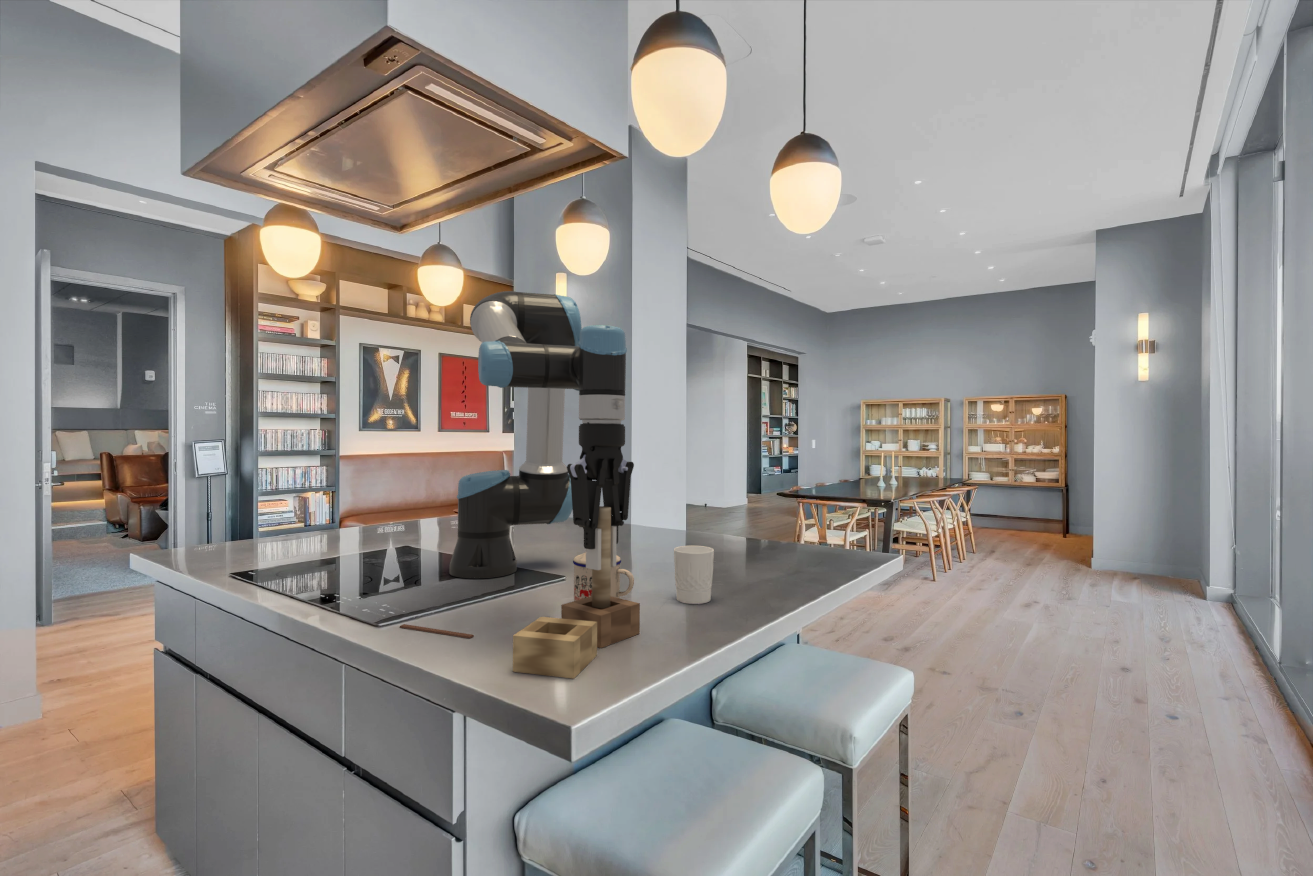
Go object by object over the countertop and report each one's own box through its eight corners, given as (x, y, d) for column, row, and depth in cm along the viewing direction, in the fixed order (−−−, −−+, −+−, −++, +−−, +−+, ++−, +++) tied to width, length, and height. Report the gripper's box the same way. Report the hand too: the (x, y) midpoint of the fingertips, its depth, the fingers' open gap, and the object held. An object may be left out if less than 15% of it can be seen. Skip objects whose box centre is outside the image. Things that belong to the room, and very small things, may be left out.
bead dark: (561, 635, 101) (561, 604, 101) (600, 622, 108) (600, 593, 108) (600, 648, 96) (601, 615, 96) (639, 633, 103) (639, 603, 102)
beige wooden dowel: (588, 605, 102) (588, 507, 101) (601, 602, 104) (601, 505, 104) (601, 609, 100) (601, 509, 99) (614, 605, 102) (614, 507, 102)
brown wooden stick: (399, 627, 105) (399, 625, 105) (404, 625, 106) (404, 624, 106) (469, 638, 99) (469, 636, 99) (473, 636, 100) (473, 634, 100)
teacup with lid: (564, 609, 116) (564, 546, 116) (585, 597, 124) (586, 538, 124) (623, 616, 112) (624, 551, 112) (642, 603, 120) (642, 543, 120)
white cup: (714, 605, 119) (715, 553, 119) (673, 605, 120) (674, 552, 119) (712, 594, 127) (712, 545, 127) (673, 594, 127) (673, 545, 127)
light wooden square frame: (512, 671, 86) (513, 635, 86) (540, 649, 95) (541, 616, 95) (573, 678, 84) (574, 641, 84) (596, 655, 93) (597, 621, 92)
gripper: (582, 421, 93) (581, 579, 93) (651, 423, 105) (650, 562, 105) (549, 421, 98) (548, 571, 98) (618, 423, 110) (617, 556, 110)
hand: (601, 566), depth 102 cm, fingers closed on beige wooden dowel, 3 cm apart
